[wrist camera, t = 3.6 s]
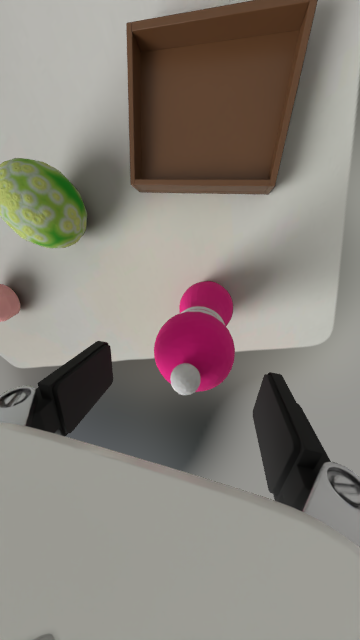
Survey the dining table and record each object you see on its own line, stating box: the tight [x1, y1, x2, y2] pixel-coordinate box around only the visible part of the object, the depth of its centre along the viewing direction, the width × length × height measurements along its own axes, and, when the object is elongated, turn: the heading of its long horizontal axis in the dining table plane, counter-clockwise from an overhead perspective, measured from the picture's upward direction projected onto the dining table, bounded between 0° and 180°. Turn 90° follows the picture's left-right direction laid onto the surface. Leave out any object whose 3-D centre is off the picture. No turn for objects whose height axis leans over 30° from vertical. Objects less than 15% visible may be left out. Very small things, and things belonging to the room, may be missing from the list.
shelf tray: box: [127, 0, 318, 194], centre depth 19 cm, size 17×13×3 cm
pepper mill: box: [154, 281, 235, 395], centre depth 18 cm, size 7×7×20 cm
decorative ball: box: [0, 158, 87, 248], centre depth 23 cm, size 10×10×10 cm
